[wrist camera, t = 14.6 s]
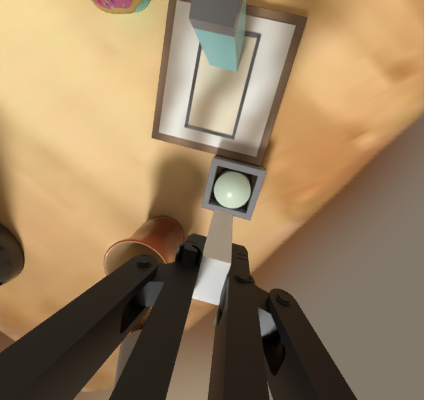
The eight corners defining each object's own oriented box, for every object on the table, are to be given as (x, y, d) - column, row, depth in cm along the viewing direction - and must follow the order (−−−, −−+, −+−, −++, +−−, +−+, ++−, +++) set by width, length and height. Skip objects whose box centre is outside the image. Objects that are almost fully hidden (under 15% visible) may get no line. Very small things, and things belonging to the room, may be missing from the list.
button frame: (205, 199, 32) (201, 207, 28) (216, 154, 30) (212, 157, 26) (249, 210, 32) (250, 220, 28) (263, 166, 29) (266, 171, 26)
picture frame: (154, 137, 30) (150, 138, 29) (173, -6, 25) (169, -14, 23) (260, 164, 29) (261, 166, 28) (304, 22, 24) (308, 15, 22)
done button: (213, 195, 31) (210, 203, 28) (221, 164, 29) (218, 168, 26) (244, 203, 31) (244, 212, 27) (253, 173, 29) (255, 178, 26)
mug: (132, 217, 35) (91, 250, 25) (178, 203, 33) (152, 231, 23) (161, 275, 38) (133, 323, 28) (204, 264, 36) (191, 313, 26)
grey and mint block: (210, 65, 25) (188, 18, 15) (216, 32, 24) (198, -44, 14) (236, 71, 25) (234, 28, 15) (244, 39, 24) (247, -34, 14)
